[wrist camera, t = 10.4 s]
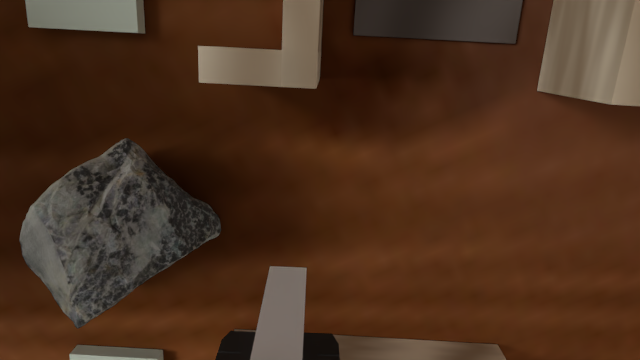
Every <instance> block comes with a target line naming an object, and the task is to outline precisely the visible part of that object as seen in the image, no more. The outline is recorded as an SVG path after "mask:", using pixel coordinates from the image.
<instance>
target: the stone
mask: <svg viewBox="0 0 640 360" xmlns="http://www.w3.org/2000/svg"><path fill="white" fill-rule="evenodd" d="M220 232H221V225H220V219H219V216H218V215H217V214H216V213H215V212H214V211H213V209H212V208H211V206H210V205H208V204H207V203H205V202H203V201H201V200H198V199H195V198H193V197H192V196H191V195H189V194H188V193H187V192H185V191H184V190H183V189H182V188H181V187H179V186H178V185H177V184H176V182H175V181H174V180H173V179H172V178H170V177H168V176H167V175H166V174H165V173H164V172H163V171H162V170H161V169H160V168H159V167H158V166H157V165H156V164H155V163H154V162H153V161H152V160H151V159H150V157H149V156H148V155H147V153H146V152H145V151H144V150H143V149H142V148H141V147H140V146H139V145H137V144H136V143H134V142H133V141H131V140H130V139H128V138H126V139H123V140H121V141H120V142H119V143H116V144H115V145H114V146H112V147H111V148H110V149H108V150H107V151H106V152H105V153H103V154H102V155H101V156H99V157H97V158H94V159H92V160H89V161H87V162H85V163H83V164H81V165H79V166H77V167H76V168H74V169H72V170H70V171H69V172H68V173H67V174H65V175H64V176H63V177H62V178H60V179H59V180H57V181H56V182H55V183H53V184H52V185H51V186H50V187H49V188H48V189H47V190H46V191H45V192H44V193H43V194H42V195H41V196H40V197H39V198H38V200H37V201H36V202H35V203H33V204H32V205H31V206H30V208H29V211H28V213H27V214H26V219H25V220H24V221H23V224H22V229H21V233H20V240H19V241H20V244H21V250H22V255H23V258H24V260H25V262H26V264H27V265H28V267H29V268H30V269H31V270H32V271H33V272H34V273H35V274H36V275H37V276H39V277H40V279H41V280H42V281H43V283H44V284H45V285H46V286H47V288H48V289H49V290H50V292H51V293H52V295H53V297H54V299H55V301H56V302H57V304H58V305H59V306H60V308H61V309H62V310H63V312H64V313H65V314H66V315H67V316H68V317H69V318H70V319H71V320H72V321H73V322H74V325H75V327H76V328H80V327H82V326H84V325H85V324H86V323H88V322H89V321H90V320H91V319H93V318H95V317H97V316H98V315H100V314H101V313H103V312H104V311H105V310H108V309H109V308H111V307H112V306H114V305H115V304H117V303H118V302H119V301H120V300H121V299H123V298H124V297H126V296H127V295H128V294H129V293H130V292H132V291H133V290H134V289H135V288H136V287H137V286H139V285H141V284H143V283H144V282H145V281H147V280H148V279H150V278H151V277H153V276H154V275H156V274H157V273H159V272H161V271H162V270H164V269H166V268H168V267H169V266H171V265H172V264H173V263H174V262H176V261H177V260H179V259H181V258H182V257H184V256H186V255H188V254H189V253H190V252H191V251H193V250H195V249H197V248H198V247H200V246H201V245H202V244H203V243H205V242H207V241H208V240H210V239H213V238H216V237H217V236H219V234H220Z"/></svg>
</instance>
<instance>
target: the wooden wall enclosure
mask: <svg viewBox="0 0 640 360" xmlns="http://www.w3.org/2000/svg"><path fill="white" fill-rule="evenodd" d="M522 1H523V0H356V3H355V17H354V32H353V35H358V36H377V37H396V38H415V39H434V40H453V41H472V42H491V43H510V44H515V43H516V37H517V31H518V25H519V19H520V13H521V7H522ZM323 6H324V0H283V23H282V50H272V49H253V48H234V47H213V46H198V67H199V83H217V84H236V85H255V86H273V87H292V88H310V89H316V88H317V85H318V83H319V80H320V66H321V46H322V26H323ZM537 91H541V92H546V93H552V94H557V95H562V96H567V97H573V98H578V99H583V100H589V101H594V102H599V103H605V104H610V105H626V106H640V0H554V1H553V7H552V12H551V17H550V23H549V28H548V34H547V39H546V45H545V50H544V55H543V61H542V66H541V72H540V77H539V82H538V88H537ZM234 331H247V332H256V330H241V329H234ZM333 336H334V337H335V339H336V340H337V342H338V343H339V357H340V360H506V358H505V356H504V355H503V353H502V351H501V349H500V348H499V346H498V344H482V343H465V342H448V341H431V340H414V339H396V338H379V337H362V336H345V335H333Z"/></svg>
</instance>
